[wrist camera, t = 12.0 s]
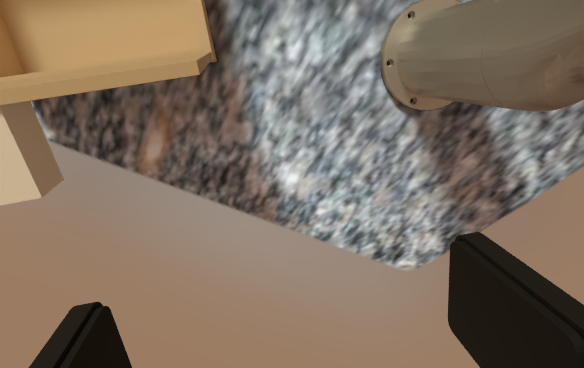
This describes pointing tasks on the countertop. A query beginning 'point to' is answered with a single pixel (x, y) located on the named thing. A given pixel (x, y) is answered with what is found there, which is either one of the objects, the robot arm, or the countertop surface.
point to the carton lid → (18, 93)
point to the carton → (97, 34)
